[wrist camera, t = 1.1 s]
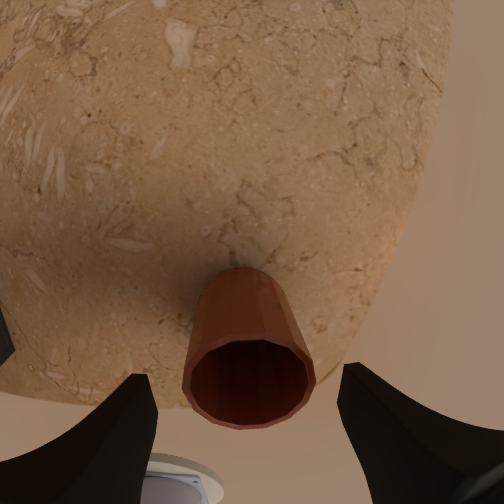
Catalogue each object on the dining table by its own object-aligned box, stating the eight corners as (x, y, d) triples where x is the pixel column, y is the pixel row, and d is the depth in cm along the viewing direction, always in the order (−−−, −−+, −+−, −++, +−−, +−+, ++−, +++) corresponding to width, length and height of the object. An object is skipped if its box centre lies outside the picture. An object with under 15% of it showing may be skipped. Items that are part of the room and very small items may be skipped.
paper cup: (285, 341, 18) (310, 423, 11) (202, 345, 18) (191, 430, 11) (287, 265, 16) (322, 327, 10) (194, 269, 16) (171, 334, 9)
